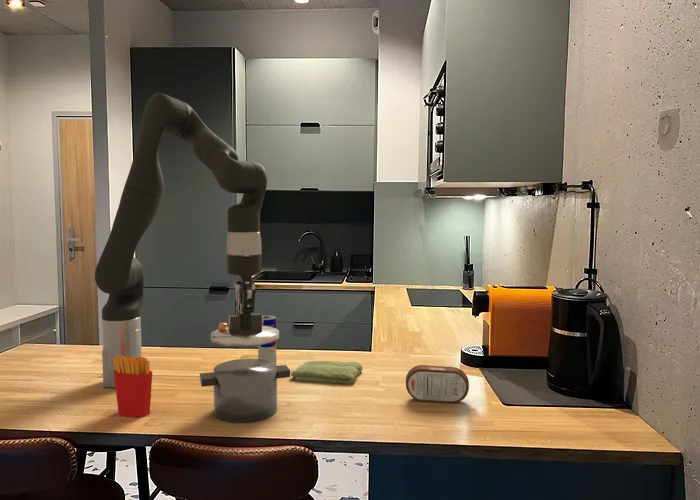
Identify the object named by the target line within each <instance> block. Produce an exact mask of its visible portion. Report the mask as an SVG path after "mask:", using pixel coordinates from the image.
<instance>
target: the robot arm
mask: <svg viewBox="0 0 700 500" xmlns="http://www.w3.org/2000/svg"><path fill="white" fill-rule="evenodd" d="M140 123H141V124H140V127H139V133H138V138H137V143H136V147H135V152H134V155H133V159H132V161H131V165H130V168H129V171H128V172H129V173H128V175H127V178H126V179H125V180H126V181H125V183H124V186H123V190H122V193H121V196H120V200H119V204H118V208H117V210H116V214H115V217H114V220H113V222H112V223H113V224H112V227H111V231H110V233H109V236H108V239H107V241H106V243H105V246H104V247H103V248H104V249H103V250H102V253H101V255H100V257H99V259H98V262H97V265H96V267H95V271H94V281H95V283H96V286H97V288H98V289H99V290H100V291H101V292H102V293H105V294H108V297H107V298H108V299H107V301H106V302H105V305H103V307H102V309H101V328H102V329H101V330H102V351H101V358H102V360H101V362H102V386H103V388H115V380H114V371H115V367H114V363H113V359H112V358H116V357H117V356H119V357H121V355H123V356H124V357H125V358H127V357H130V356H135V357H138V358H139V357H143V356H142V353H143V352H142V327H141V325H142V324H141V323H142V322H141V318H142V317H141V316H142V315H141V311H142V307H143V305H144V304H143V303H144V282H145V281H144V270H143V265H142V264H141V262H140V260H138V259H137V258H136V257H135V253H136V250H137V248H138V245H139V242H140V241H141V239H142V238H143V236H144V235H145V234H146V233H147V230H149V228H150V226H151V225H152V223H153V221H154V220H155V219H156V216H157V214H158V211H159V209H160V206H161V202H162V199H163V197H164V193H165V180H164V175H163V172H162V167H161V165H160V163H161V162H160V159H159V158H160V157H159V148H160V144H161V139H162V137H163V135H165V136H168V137H172V138H177V139H180V140H182V141H184V142H186V143H188V144H190V145H191V147H192V151H193V152H194V155H195V156H196V158H197V159H198V160H199V161H200V162H201V163H202V164H203V165H204V166H205V167H207V168H208V169H209V170H210V171H211V172H212V174H213V176H214V178H215V180H216V182H217V184H218V186H219V187H220V188H221V189H223V191H225V192H227V193H231V194H243V195H242V197H241V200H240V202H239V203H237V204H233V205H231V206H230V207H229V208H228V209H227V237H226V271H227V273H228V275H230V276H231V275H232V276H236V277H237V278H236V280H237V281H234V289H235V290H234V292H235V301H236V302H235V305H236V308H237V311H238V314H241V330H242V331H250V330H251V329H252V324H251V314H252V313H255V303H256V301H255V300H256V294H257V291H256V284H255V282H254V281H253V278H252V277H253V276H254V275H259V274H261V273H262V269H263V268H262V263H263V262H262V236H261V219H260V218H261V210H262V208H263V204H264V199H265V194H266V191H267V186H268V176H267V172H266V169H265V167H264V166H263V165H262V164H260V163H259V162H255V161H247V160H246V161H245V160H244V161H243V160H239V156H238V153H237V151H236V150H235V149H234V148H233V147H232V146H230V145H229V144H228V143H227V142H225V141H224V140H223V139H222V138H221V137H219V136H218V135H216V134H215V132H213V131H212V130H211V129H210V128H209V127H208V126H207V125H206V124H205V122H203V120H202V118H200V117H199V115H198V114H197V112H196V111H195V110H194V109H193V108H192V107H191V105H189V104H188V103H187V102H184V101H182V100H180V99H178V98H175V97H172V96H170V95H168V94H165V93H161V92H156V93H154V94H152V95H151V97H149V99H148V100H147V102H146V105H145V108H144V111H143V115H142V119H141V122H140ZM115 389H116V388H115Z"/></svg>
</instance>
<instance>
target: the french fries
mask: <svg viewBox="0 0 700 500" xmlns="http://www.w3.org/2000/svg"><path fill="white" fill-rule="evenodd" d="M112 359H113V363H114V367H115V371H114V380H115V395H116V403H117V404H116V405H117V412H118V415H119V416H122V417H129V418H143V417H146V416H148V415H149V414H150V413H151V401H152V399H151V398H152V382H153V371H152V370H150V361H149V360H148V358H147V357H145V356H142V357H139V358H138V357H135V356H130V357H127V358H125V357H124V356H123V355H121V357H119V356H117V357H116V358H112Z"/></svg>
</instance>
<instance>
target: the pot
mask: <svg viewBox="0 0 700 500" xmlns="http://www.w3.org/2000/svg"><path fill="white" fill-rule="evenodd" d="M284 378H285V379H286V378H287V379H288V378H291V369H290V368H289V367H288V366H287V365H286V364H281V365H277V363H276V364H275V363H273V362H271V361H268V360H263V359H258V358H239V359H231V360H228V361H224V362H221V363H219V364H217V365H216V366H214V368H213V371H211V372H200V373H199V382H200V386H201V388H203V387H212V386H213V414H214V417H215V418H216V419H218V420H220V421H223V422H226V423H230V424H231V423H233V424H249V423H255V422H260V421H264V420H267V419H269V418H271V417H272V416H274V415H275V414H276V413H277V412H278V379H284Z"/></svg>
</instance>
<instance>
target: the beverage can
mask: <svg viewBox="0 0 700 500" xmlns="http://www.w3.org/2000/svg"><path fill="white" fill-rule="evenodd" d="M262 326H269V327H273V328H276V329H277V317H276V316H275V315H267V314H266V315H265V314H264V315H262ZM257 359H263V360H268V361H271V362H273V363H275V364H276V365H277V340H276V341H274V342H271V343H267V344H263V345H257Z"/></svg>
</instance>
